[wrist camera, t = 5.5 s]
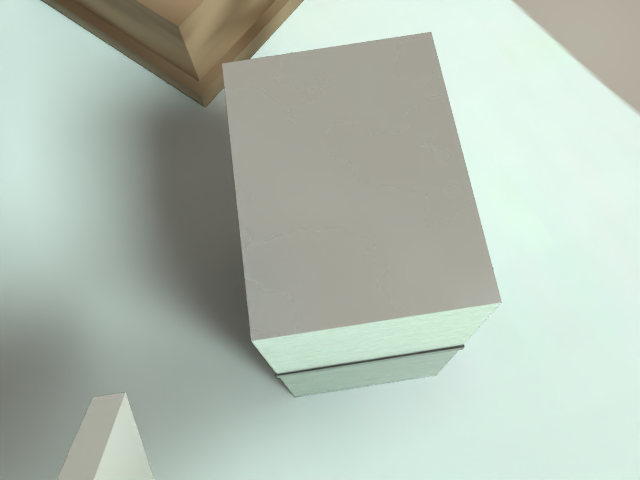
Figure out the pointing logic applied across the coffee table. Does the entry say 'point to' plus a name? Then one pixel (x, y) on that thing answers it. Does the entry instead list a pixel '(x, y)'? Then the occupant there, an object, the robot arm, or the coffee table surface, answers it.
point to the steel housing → (355, 214)
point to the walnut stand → (182, 34)
